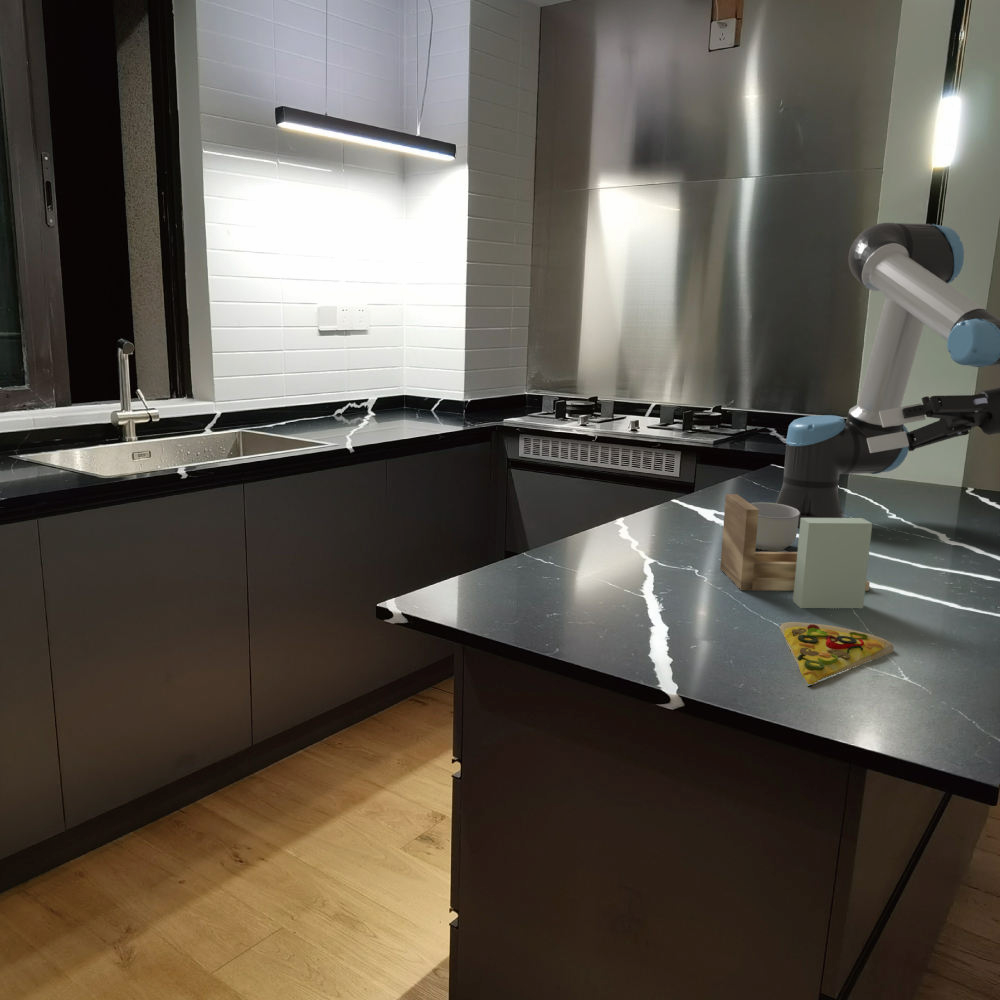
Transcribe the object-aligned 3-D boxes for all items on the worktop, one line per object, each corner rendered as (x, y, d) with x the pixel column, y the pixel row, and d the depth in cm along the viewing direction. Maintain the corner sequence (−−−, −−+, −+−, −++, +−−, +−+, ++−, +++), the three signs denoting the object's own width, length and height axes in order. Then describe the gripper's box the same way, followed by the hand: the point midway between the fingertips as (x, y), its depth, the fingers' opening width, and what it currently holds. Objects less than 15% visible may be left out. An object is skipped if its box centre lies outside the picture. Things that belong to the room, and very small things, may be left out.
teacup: (799, 544, 175) (803, 505, 173) (793, 557, 166) (796, 517, 164) (729, 535, 181) (732, 498, 179) (719, 548, 171) (722, 509, 170)
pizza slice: (894, 651, 122) (896, 631, 122) (872, 707, 105) (875, 684, 104) (782, 630, 130) (784, 611, 129) (745, 678, 112) (746, 657, 112)
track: (839, 569, 158) (847, 495, 155) (868, 590, 146) (877, 510, 143) (720, 569, 157) (725, 494, 154) (740, 590, 146) (746, 509, 143)
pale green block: (853, 601, 141) (862, 518, 138) (862, 608, 138) (872, 523, 135) (792, 601, 141) (800, 517, 138) (800, 608, 137) (809, 523, 134)
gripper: (1039, 402, 132) (892, 428, 137) (992, 453, 156) (868, 474, 160) (1024, 358, 134) (881, 385, 139) (981, 414, 158) (859, 436, 162)
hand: (874, 433), depth 149 cm, fingers open, 13 cm apart
